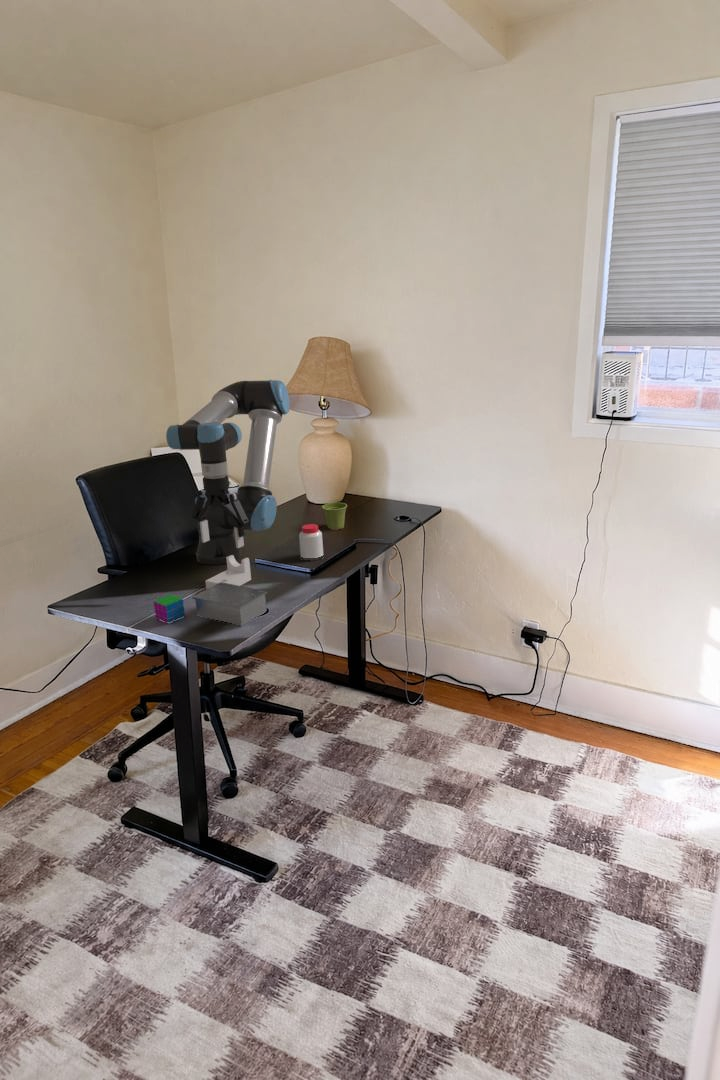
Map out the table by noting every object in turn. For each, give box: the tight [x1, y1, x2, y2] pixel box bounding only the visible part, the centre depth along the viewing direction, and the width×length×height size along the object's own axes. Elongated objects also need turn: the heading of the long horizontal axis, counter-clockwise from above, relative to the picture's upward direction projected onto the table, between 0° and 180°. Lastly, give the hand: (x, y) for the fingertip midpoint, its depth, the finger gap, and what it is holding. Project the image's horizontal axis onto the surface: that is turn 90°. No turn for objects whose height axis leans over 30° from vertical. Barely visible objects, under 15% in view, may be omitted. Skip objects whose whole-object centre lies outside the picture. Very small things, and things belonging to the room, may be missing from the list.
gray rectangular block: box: [192, 582, 268, 627], centre depth 206 cm, size 17×12×6 cm
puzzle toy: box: [153, 594, 186, 622], centre depth 205 cm, size 6×6×6 cm
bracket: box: [204, 555, 252, 590], centre depth 226 cm, size 13×7×8 cm, turn 150°
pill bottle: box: [298, 523, 324, 558], centre depth 246 cm, size 8×8×11 cm
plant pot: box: [321, 502, 348, 531], centre depth 277 cm, size 9×9×9 cm
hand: (222, 544), depth 222 cm, fingers open, 13 cm apart
